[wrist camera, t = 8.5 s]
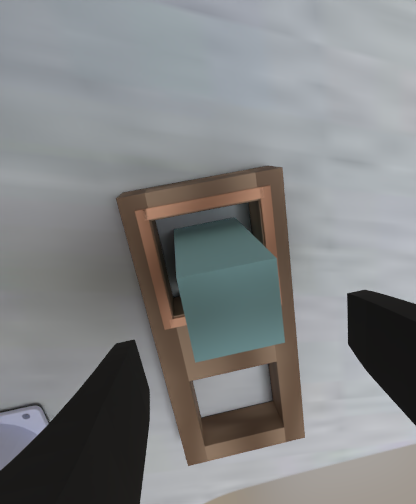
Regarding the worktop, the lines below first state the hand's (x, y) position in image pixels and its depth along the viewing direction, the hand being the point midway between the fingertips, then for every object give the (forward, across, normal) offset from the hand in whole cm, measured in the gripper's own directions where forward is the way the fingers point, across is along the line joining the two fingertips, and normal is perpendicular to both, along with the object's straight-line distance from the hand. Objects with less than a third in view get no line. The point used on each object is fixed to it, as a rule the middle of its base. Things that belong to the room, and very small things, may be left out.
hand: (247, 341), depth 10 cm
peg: (+10, 0, 0) cm, 10 cm away
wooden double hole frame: (+10, 0, +6) cm, 12 cm away
